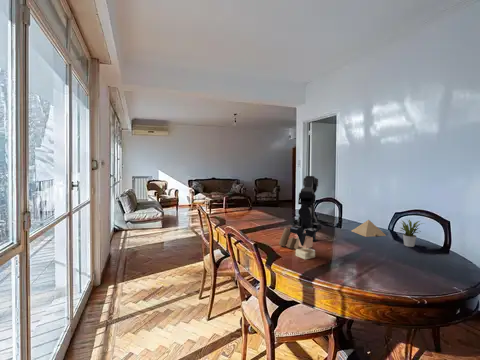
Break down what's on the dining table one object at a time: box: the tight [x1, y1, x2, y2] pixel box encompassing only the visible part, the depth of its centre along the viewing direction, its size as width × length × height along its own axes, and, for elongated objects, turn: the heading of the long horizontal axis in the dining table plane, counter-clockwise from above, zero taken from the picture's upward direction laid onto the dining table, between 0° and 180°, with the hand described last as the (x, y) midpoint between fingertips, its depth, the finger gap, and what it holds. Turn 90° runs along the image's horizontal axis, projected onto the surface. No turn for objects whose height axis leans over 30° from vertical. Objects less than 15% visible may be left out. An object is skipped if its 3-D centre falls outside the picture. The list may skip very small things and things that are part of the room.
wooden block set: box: [278, 227, 302, 250], centre depth 165 cm, size 18×9×10 cm, turn 27°
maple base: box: [295, 248, 316, 260], centre depth 148 cm, size 7×7×4 cm
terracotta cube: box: [299, 236, 314, 249], centre depth 148 cm, size 5×5×5 cm
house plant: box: [399, 219, 426, 248], centre depth 169 cm, size 14×14×16 cm
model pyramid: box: [351, 219, 387, 238], centre depth 198 cm, size 17×17×10 cm
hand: (305, 244), depth 148 cm, fingers closed on terracotta cube, 5 cm apart
